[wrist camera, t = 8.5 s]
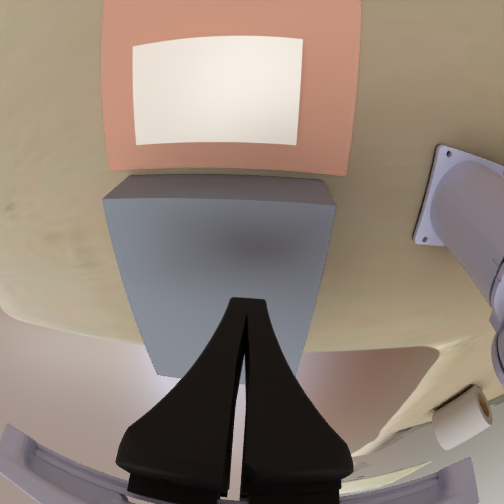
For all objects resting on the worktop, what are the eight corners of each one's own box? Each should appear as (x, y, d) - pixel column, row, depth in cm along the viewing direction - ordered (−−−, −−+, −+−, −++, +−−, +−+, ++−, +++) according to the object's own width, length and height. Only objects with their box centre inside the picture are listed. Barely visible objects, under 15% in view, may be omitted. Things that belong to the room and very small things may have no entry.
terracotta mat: (358, -33, 9) (359, -34, 9) (345, 175, 17) (346, 176, 17) (108, -24, 9) (107, -25, 9) (110, 170, 17) (109, 170, 17)
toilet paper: (469, 382, 35) (484, 425, 27) (482, 387, 38) (495, 424, 29) (428, 409, 40) (438, 451, 32) (446, 411, 43) (456, 448, 34)
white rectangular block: (296, 145, 14) (292, 138, 16) (302, 39, 11) (298, 44, 13) (136, 145, 14) (148, 138, 16) (132, 46, 11) (146, 49, 13)
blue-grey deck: (322, 180, 17) (336, 205, 14) (290, 352, 27) (292, 385, 24) (129, 175, 18) (102, 199, 14) (166, 343, 28) (157, 374, 24)
